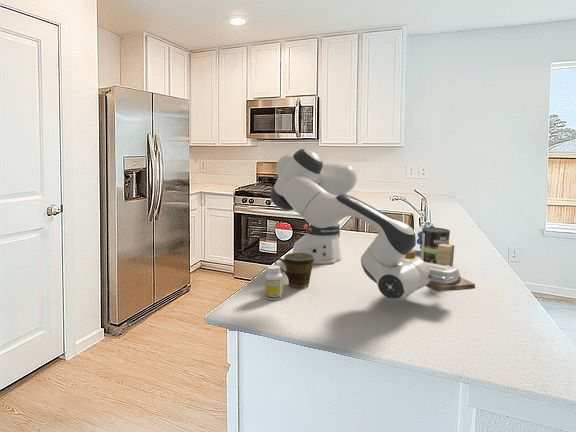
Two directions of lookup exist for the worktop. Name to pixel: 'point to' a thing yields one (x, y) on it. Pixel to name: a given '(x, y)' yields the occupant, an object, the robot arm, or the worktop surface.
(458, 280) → the grey stone ring
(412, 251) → the supplement bottle
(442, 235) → the coffee can
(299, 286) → the ceramic cup
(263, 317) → the worktop surface
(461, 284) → the walnut board
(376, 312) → the worktop surface
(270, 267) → the supplement bottle
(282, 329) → the worktop surface
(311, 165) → the robot arm
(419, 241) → the grapes
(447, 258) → the oak post
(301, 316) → the worktop surface
